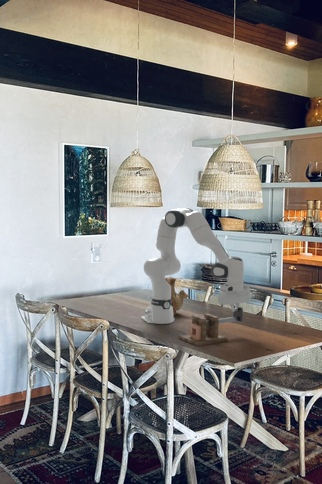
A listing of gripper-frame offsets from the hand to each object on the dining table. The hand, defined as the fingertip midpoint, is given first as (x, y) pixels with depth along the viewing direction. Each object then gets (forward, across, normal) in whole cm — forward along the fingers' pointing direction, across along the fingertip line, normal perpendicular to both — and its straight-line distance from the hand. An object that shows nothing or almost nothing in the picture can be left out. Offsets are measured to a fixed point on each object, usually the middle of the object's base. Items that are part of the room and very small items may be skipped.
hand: (234, 311), depth 286 cm
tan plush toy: (+13, +2, -62) cm, 64 cm away
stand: (+13, +20, 0) cm, 24 cm away
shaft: (+5, +9, 0) cm, 10 cm away
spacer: (+8, +26, 0) cm, 27 cm away
